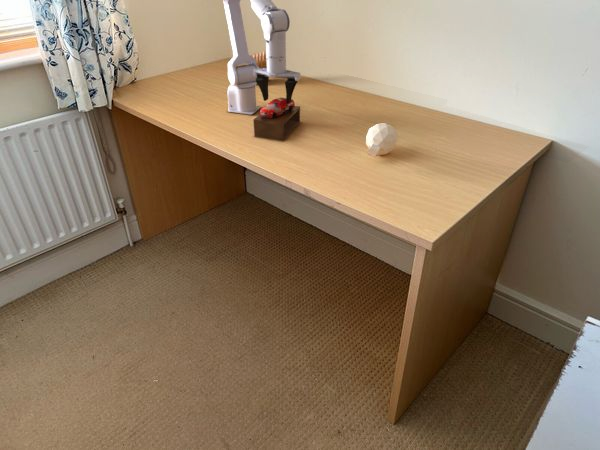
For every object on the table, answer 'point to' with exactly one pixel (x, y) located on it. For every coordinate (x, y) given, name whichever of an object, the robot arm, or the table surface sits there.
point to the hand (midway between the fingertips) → (277, 101)
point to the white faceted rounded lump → (381, 139)
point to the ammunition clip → (261, 60)
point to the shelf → (277, 125)
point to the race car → (277, 107)
